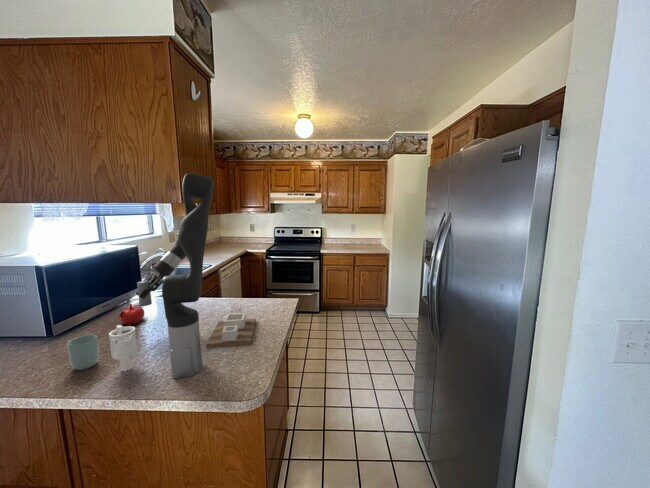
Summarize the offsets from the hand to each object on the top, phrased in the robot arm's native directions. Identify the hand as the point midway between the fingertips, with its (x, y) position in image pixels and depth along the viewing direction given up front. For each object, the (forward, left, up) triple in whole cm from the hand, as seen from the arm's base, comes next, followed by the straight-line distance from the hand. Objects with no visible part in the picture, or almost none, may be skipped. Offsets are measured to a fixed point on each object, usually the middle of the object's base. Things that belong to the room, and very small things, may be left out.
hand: (139, 296), depth 113 cm
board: (-4, -38, -18) cm, 42 cm away
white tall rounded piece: (-25, -6, -18) cm, 31 cm away
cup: (-21, +9, -18) cm, 29 cm away
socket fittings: (-4, -38, -16) cm, 42 cm away
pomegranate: (+17, +13, -18) cm, 28 cm away
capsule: (+1, -1, -4) cm, 5 cm away
